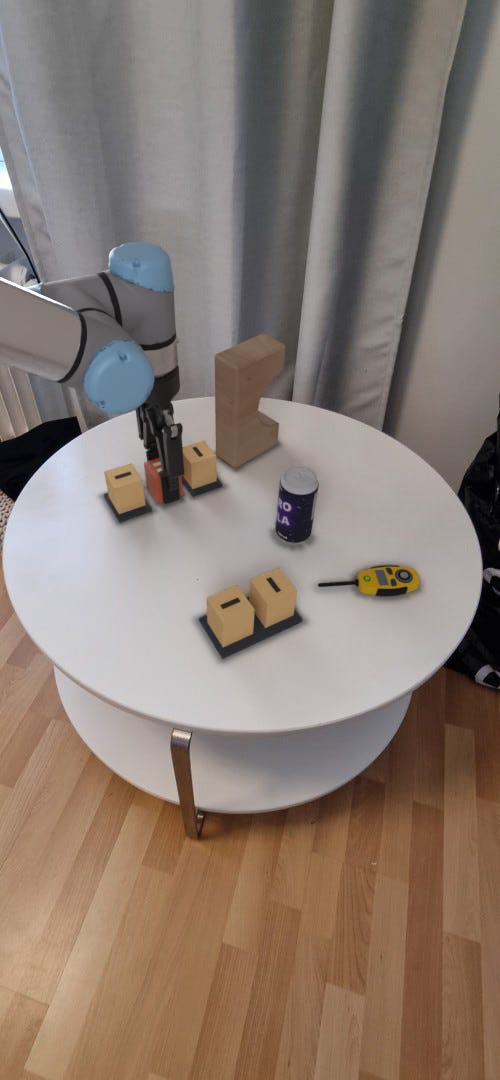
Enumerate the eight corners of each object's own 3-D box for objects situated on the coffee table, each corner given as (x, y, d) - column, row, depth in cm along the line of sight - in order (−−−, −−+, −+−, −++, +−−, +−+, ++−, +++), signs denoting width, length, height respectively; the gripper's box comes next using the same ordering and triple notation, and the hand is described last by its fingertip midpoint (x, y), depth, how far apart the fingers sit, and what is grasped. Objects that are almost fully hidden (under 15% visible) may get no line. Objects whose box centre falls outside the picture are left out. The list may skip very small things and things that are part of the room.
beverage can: (285, 516, 95) (291, 458, 87) (316, 529, 94) (326, 471, 85) (268, 537, 92) (273, 479, 83) (300, 552, 90) (309, 494, 81)
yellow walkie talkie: (424, 586, 84) (321, 593, 82) (421, 595, 85) (320, 601, 84) (414, 561, 87) (315, 567, 86) (411, 569, 88) (313, 576, 87)
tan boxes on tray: (222, 659, 77) (222, 632, 72) (198, 620, 81) (197, 592, 76) (302, 622, 81) (306, 594, 77) (276, 587, 85) (279, 559, 81)
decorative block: (258, 430, 111) (263, 331, 97) (279, 444, 108) (287, 344, 94) (213, 454, 106) (212, 353, 91) (234, 470, 103) (236, 368, 88)
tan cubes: (119, 522, 93) (113, 493, 89) (104, 496, 97) (98, 467, 93) (222, 487, 100) (222, 458, 95) (204, 463, 104) (203, 435, 99)
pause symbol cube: (157, 504, 96) (154, 478, 92) (146, 487, 99) (143, 461, 95) (183, 495, 98) (181, 469, 94) (171, 479, 101) (169, 453, 97)
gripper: (204, 390, 78) (208, 516, 95) (151, 331, 88) (163, 454, 105) (152, 405, 75) (166, 531, 92) (103, 342, 85) (123, 466, 102)
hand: (164, 490), depth 98 cm, fingers open, 5 cm apart
